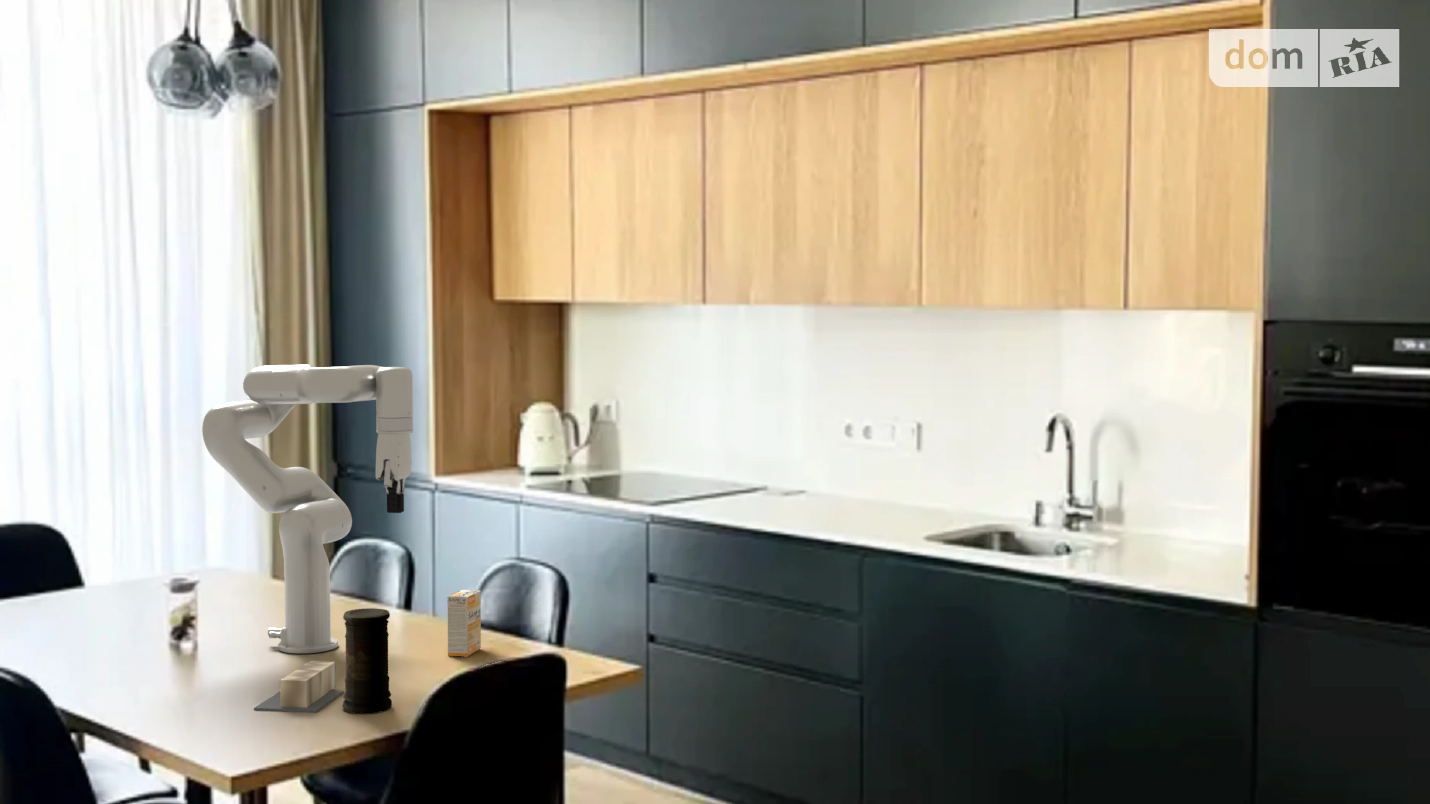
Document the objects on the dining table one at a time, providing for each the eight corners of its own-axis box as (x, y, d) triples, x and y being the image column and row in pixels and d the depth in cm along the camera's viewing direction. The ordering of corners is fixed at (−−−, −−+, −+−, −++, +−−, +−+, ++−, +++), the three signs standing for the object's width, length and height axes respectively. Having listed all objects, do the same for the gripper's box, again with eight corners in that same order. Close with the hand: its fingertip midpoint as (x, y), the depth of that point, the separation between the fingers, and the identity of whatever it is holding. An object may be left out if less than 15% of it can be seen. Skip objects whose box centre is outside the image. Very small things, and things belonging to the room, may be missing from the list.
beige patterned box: (311, 685, 289) (280, 706, 274) (310, 660, 289) (280, 679, 274) (336, 686, 288) (306, 707, 274) (335, 661, 288) (306, 680, 273)
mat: (253, 710, 273) (253, 707, 273) (284, 690, 287) (283, 688, 287) (316, 712, 272) (316, 710, 272) (343, 692, 286) (343, 690, 286)
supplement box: (468, 657, 314) (467, 596, 314) (447, 656, 315) (446, 595, 315) (482, 649, 322) (481, 589, 322) (461, 647, 323) (460, 588, 323)
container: (346, 701, 279) (345, 607, 278) (394, 701, 280) (394, 606, 279) (338, 715, 270) (337, 617, 269) (388, 714, 271) (387, 616, 270)
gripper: (389, 422, 319) (390, 507, 320) (364, 428, 304) (365, 517, 305) (423, 423, 318) (423, 508, 319) (400, 428, 303) (401, 517, 304)
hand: (395, 512), depth 312 cm, fingers closed
